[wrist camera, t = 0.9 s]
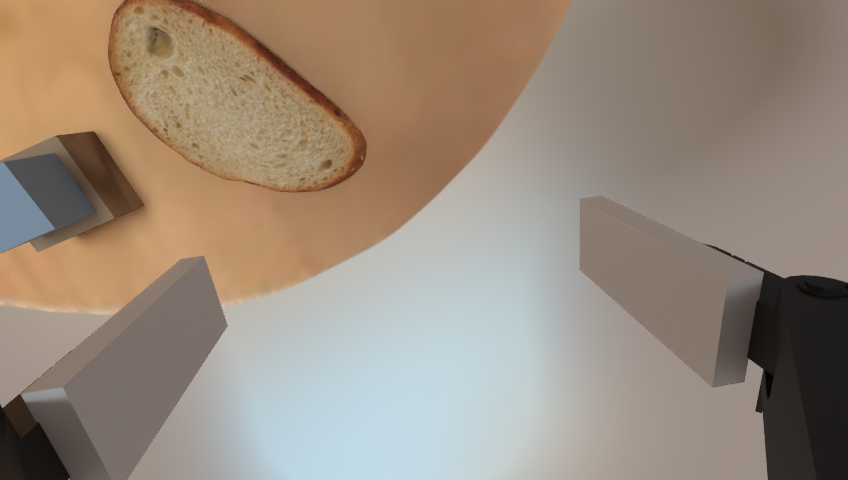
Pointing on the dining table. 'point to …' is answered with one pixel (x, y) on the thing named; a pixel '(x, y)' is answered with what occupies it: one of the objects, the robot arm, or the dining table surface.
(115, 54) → the slice of bread
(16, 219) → the tower top
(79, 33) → the dining table surface
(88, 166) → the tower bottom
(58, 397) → the robot arm
